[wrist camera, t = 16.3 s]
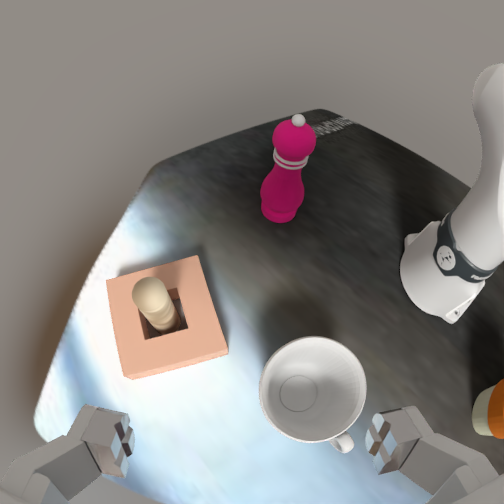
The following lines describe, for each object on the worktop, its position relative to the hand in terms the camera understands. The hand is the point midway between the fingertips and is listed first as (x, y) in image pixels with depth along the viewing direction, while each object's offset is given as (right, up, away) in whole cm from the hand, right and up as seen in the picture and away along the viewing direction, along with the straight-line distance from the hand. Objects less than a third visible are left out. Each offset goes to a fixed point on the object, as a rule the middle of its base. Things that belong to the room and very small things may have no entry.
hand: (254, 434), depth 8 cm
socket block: (-12, -4, +33) cm, 35 cm away
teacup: (+7, -15, +29) cm, 33 cm away
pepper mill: (+5, +13, +45) cm, 47 cm away
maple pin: (-12, -4, +33) cm, 35 cm away
